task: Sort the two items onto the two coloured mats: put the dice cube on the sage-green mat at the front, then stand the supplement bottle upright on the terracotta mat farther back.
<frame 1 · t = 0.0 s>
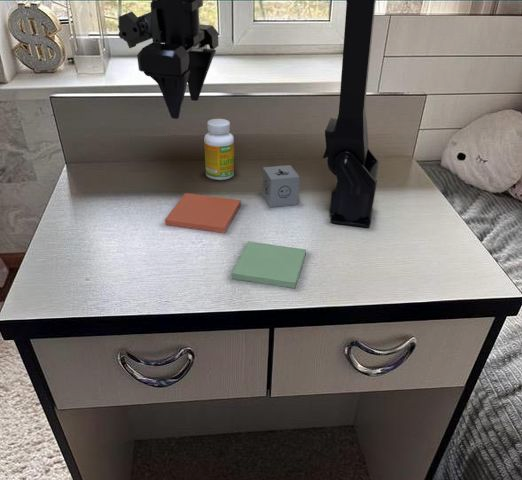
hand: (185, 108, 82), 15 cm above the table, tool pointing down, fingers open, 9 cm apart
dice cube: (279, 200, 92), on the table
green mat: (270, 266, 76), on the table
supplement bottle: (220, 176, 99), on the table
terracotta mat: (204, 214, 87), on the table
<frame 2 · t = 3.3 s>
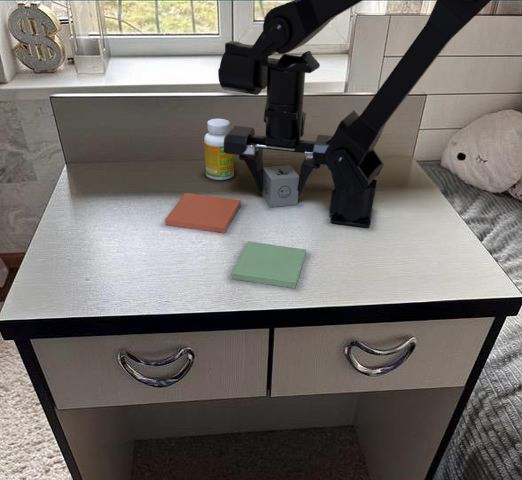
hand: (280, 194, 91), 1 cm above the table, tool pointing down, fingers closed on dice cube, 6 cm apart
dice cube: (279, 200, 92), on the table, touching gripper
everything else where it was.
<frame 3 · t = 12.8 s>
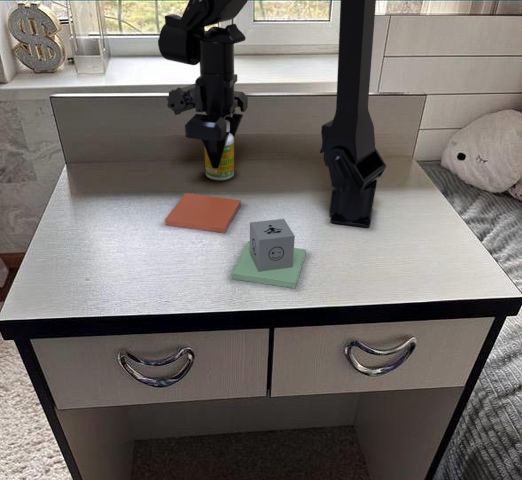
hand: (219, 162, 98), 3 cm above the table, tool pointing down, fingers closed on supplement bottle, 5 cm apart
dice cube: (270, 261, 75), point 1 cm above the table, touching green mat
supplement bottle: (220, 176, 99), on the table, touching gripper
when the fingers open (4 cm above the table, at t = 17.7 s): supplement bottle stays where it is, resting on terracotta mat.
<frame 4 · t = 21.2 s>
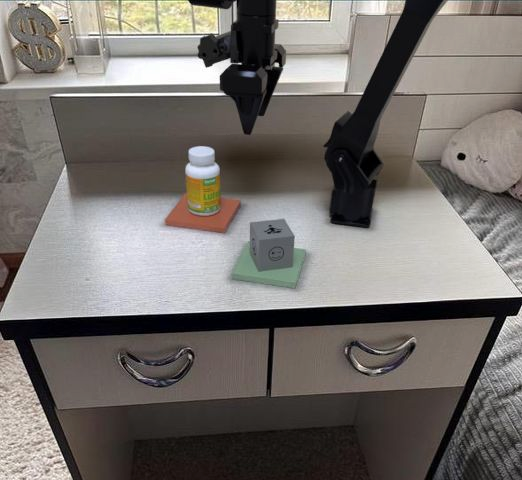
hand: (254, 124, 86), 12 cm above the table, tool pointing down, fingers open, 9 cm apart
supplement bottle: (204, 210, 87), point 1 cm above the table, touching terracotta mat
everything else where it was.
at the end: dice cube inside the target area on the green mat (0.1 cm from its centre), point 0.8 cm above the green mat's base; supplement bottle inside the target area on the terracotta mat (0.1 cm from its centre), point 0.8 cm above the terracotta mat's base; supplement bottle tilted 0° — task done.
